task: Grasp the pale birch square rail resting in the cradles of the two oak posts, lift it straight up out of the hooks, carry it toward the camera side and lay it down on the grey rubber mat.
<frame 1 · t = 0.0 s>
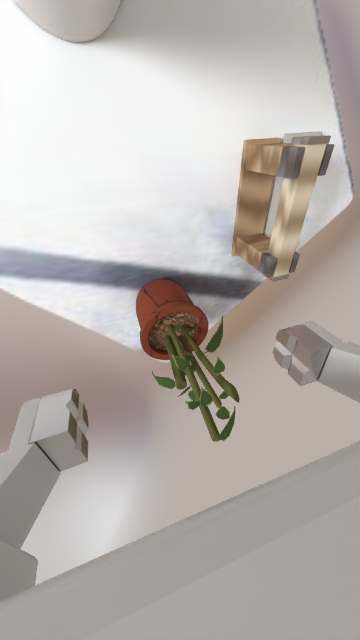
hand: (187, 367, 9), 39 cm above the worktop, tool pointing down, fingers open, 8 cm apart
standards: (251, 203, 47), on the worktop
mat: (287, 196, 48), on the worktop
potted plant: (166, 295, 54), on the worktop
rail: (283, 216, 39), point 10 cm above the worktop, touching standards
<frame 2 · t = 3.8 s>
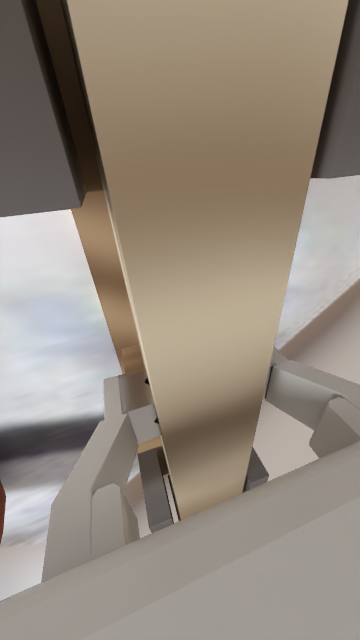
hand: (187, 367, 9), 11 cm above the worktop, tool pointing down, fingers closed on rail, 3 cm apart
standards: (141, 272, 17), on the worktop
rail: (181, 356, 9), point 10 cm above the worktop, touching gripper, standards
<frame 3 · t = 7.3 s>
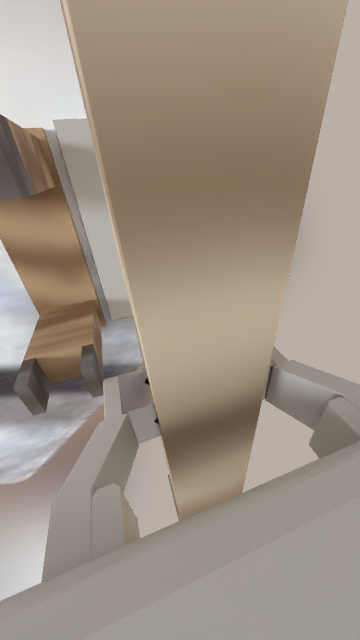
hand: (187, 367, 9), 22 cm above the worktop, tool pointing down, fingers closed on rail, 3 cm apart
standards: (48, 253, 25), on the worktop
mat: (124, 237, 26), on the worktop
rail: (182, 357, 9), point 22 cm above the worktop, touching gripper
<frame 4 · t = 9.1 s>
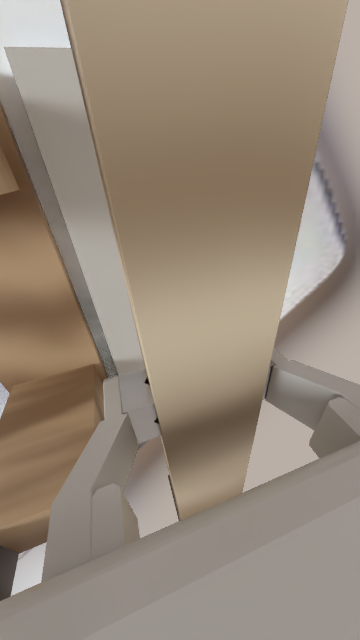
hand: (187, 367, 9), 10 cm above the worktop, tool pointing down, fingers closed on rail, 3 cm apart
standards: (18, 302, 15), on the worktop
mat: (144, 270, 16), on the worktop
rail: (182, 357, 9), point 9 cm above the worktop, touching gripper
when the fingers open (3 cm above the worktop, at t = 10.8 s): rail drops 2 cm, resting on mat.
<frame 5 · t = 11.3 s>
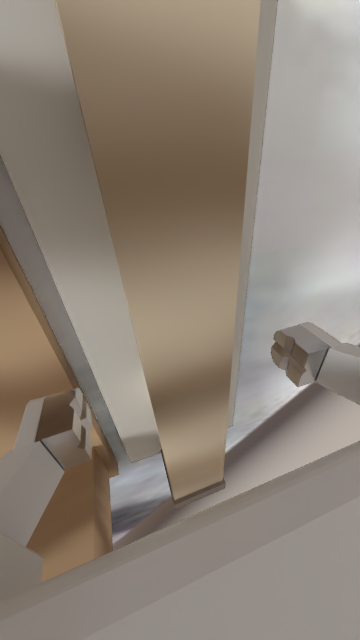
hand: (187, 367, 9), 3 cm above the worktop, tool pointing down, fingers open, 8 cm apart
mat: (167, 325, 11), on the worktop
rail: (169, 334, 11), point 1 cm above the worktop, touching mat
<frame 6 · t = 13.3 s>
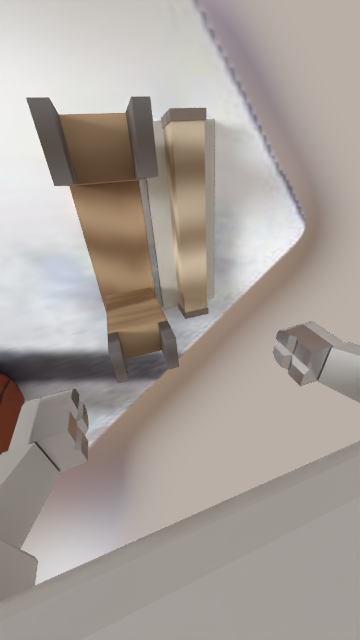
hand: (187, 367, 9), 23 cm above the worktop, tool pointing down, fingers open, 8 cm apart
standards: (117, 242, 27), on the worktop
mat: (183, 228, 29), on the worktop
potted plant: (7, 388, 33), on the worktop
rail: (184, 230, 28), point 1 cm above the worktop, touching mat
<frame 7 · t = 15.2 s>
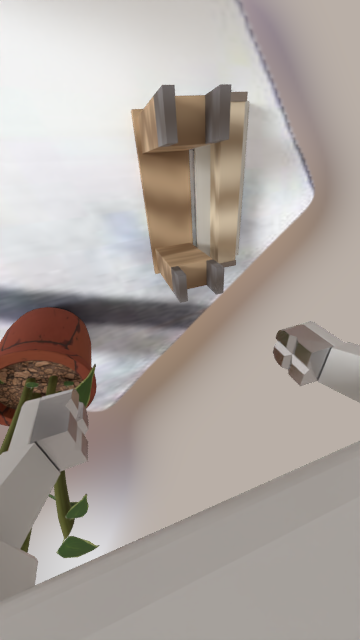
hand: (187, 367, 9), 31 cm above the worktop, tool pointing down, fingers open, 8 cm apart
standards: (167, 203, 34), on the worktop
mat: (218, 193, 36), on the worktop
potted plant: (70, 328, 40), on the worktop
rail: (219, 194, 35), point 1 cm above the worktop, touching mat
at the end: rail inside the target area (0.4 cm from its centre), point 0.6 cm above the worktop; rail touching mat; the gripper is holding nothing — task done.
